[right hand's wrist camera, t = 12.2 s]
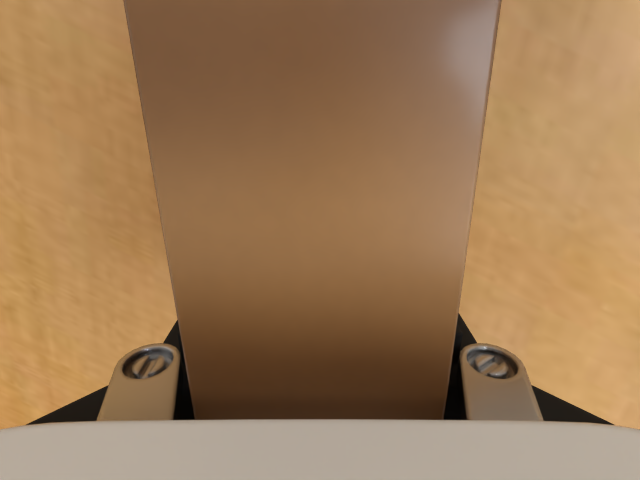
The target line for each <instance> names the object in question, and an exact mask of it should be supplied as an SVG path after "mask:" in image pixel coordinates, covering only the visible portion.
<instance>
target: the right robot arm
mask: <svg viewBox="0 0 640 480" xmlns="http://www.w3.org/2000/svg"><path fill="white" fill-rule="evenodd" d="M0 480H640V429H634V428H629V427H623V426H617V425H614V424H612V423H610V422H607V421H605V420H603V419H601V418H599V417H597V416H595V415H593V414H591V413H589V412H587V411H584V410H582V409H580V408H578V407H576V406H574V405H572V404H570V403H568V402H566V401H564V400H562V399H559V398H557V397H555V396H553V395H551V394H549V393H547V392H545V391H543V390H541V389H539V388H536V387H534V386H532V385H531V383H530V380H529V377H528V375H527V372H526V369H525V367H524V365H523V363H522V361H521V360H520V359H519V358H517V357H516V356H515V355H514V354H512V353H511V352H509V351H508V350H506V349H503V348H501V347H498V346H495V345H490V344H483V343H477V342H476V340H475V339H474V337H473V336H472V334H471V332H470V331H469V329H468V327H467V326H466V324H465V323H464V321H463V319H462V318H461V316H460V314H459V313H458V319H457V326H456V334H455V341H454V348H453V355H452V363H451V370H450V377H449V384H448V392H447V399H446V406H445V413H444V420H375V419H263V420H195V418H194V412H193V406H192V400H191V394H190V388H189V383H188V377H187V371H186V365H185V359H184V353H183V347H182V341H181V335H180V330H179V324H178V320H177V321H176V323H175V325H174V326H173V328H172V330H171V331H170V333H169V334H168V336H167V338H166V339H165V341H164V343H157V344H150V345H145V346H142V347H139V348H137V349H134V350H132V351H131V352H129V353H128V354H126V355H125V356H124V357H123V358H121V359H120V360H119V361H118V363H117V365H116V367H115V369H114V372H113V375H112V377H111V380H110V383H109V385H108V386H106V387H104V388H102V389H100V390H98V391H95V392H93V393H91V394H89V395H87V396H85V397H83V398H81V399H79V400H77V401H75V402H72V403H70V404H68V405H66V406H64V407H62V408H60V409H58V410H56V411H54V412H52V413H49V414H47V415H45V416H43V417H41V418H39V419H37V420H35V421H33V422H31V423H29V424H27V425H23V426H17V427H11V428H6V429H0Z"/></svg>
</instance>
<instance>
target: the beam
mask: <svg viewBox="0 0 640 480" xmlns="http://www.w3.org/2000/svg"><path fill="white" fill-rule="evenodd" d="M124 6H125V12H126V18H127V24H128V30H129V36H130V42H131V47H132V53H133V59H134V65H135V71H136V77H137V83H138V89H139V95H140V100H141V106H142V112H143V118H144V124H145V130H146V136H147V142H148V147H149V153H150V159H151V165H152V171H153V177H154V183H155V189H156V194H157V200H158V206H159V212H160V218H161V224H162V230H163V236H164V241H165V247H166V253H167V259H168V265H169V271H170V277H171V283H172V288H173V294H174V300H175V306H176V312H177V318H178V324H179V330H180V335H181V341H182V347H183V353H184V359H185V365H186V371H187V377H188V383H189V388H190V394H191V400H192V406H193V412H194V418H195V420H263V419H375V420H444V413H445V406H446V399H447V392H448V384H449V377H450V370H451V363H452V355H453V348H454V341H455V334H456V326H457V319H458V312H459V305H460V297H461V290H462V283H463V276H464V268H465V261H466V254H467V247H468V239H469V232H470V225H471V218H472V210H473V203H474V196H475V189H476V181H477V174H478V167H479V160H480V152H481V145H482V138H483V131H484V123H485V116H486V109H487V102H488V94H489V87H490V80H491V73H492V65H493V58H494V51H495V44H496V36H497V29H498V22H499V15H500V7H501V0H124Z"/></svg>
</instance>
